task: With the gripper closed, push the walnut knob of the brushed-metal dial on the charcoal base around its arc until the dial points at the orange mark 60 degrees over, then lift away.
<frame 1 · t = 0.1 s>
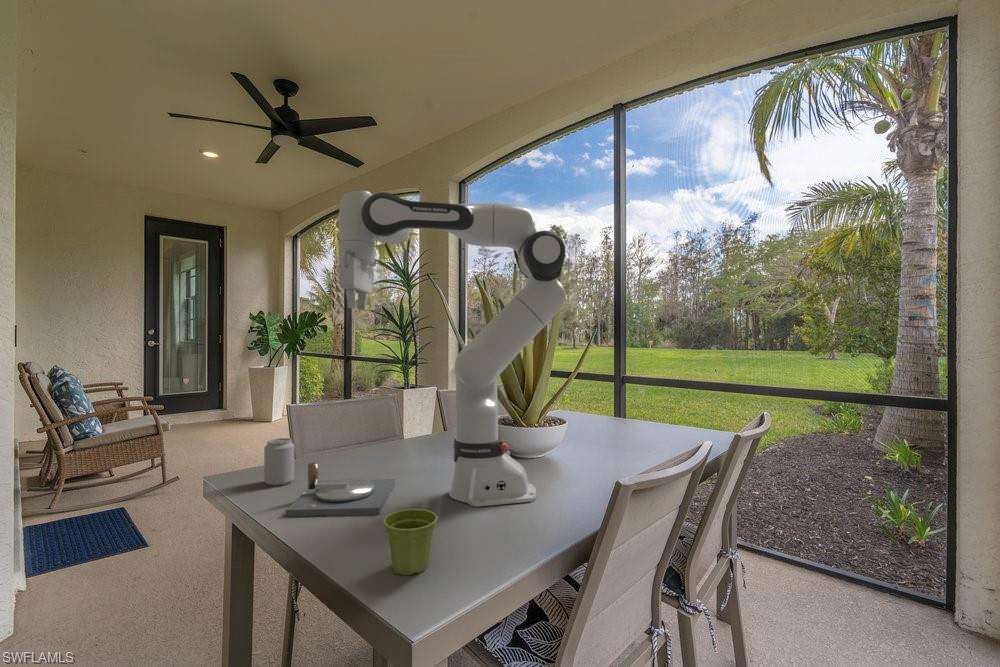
hand: (356, 309, 118), 48 cm above the table, tool pointing down, fingers open, 8 cm apart
can: (279, 483, 128), on the table
dial: (341, 477, 116), point 5 cm above the table, hinge at 0.0°
plant pot: (410, 568, 82), on the table
dial plate: (345, 499, 116), on the table
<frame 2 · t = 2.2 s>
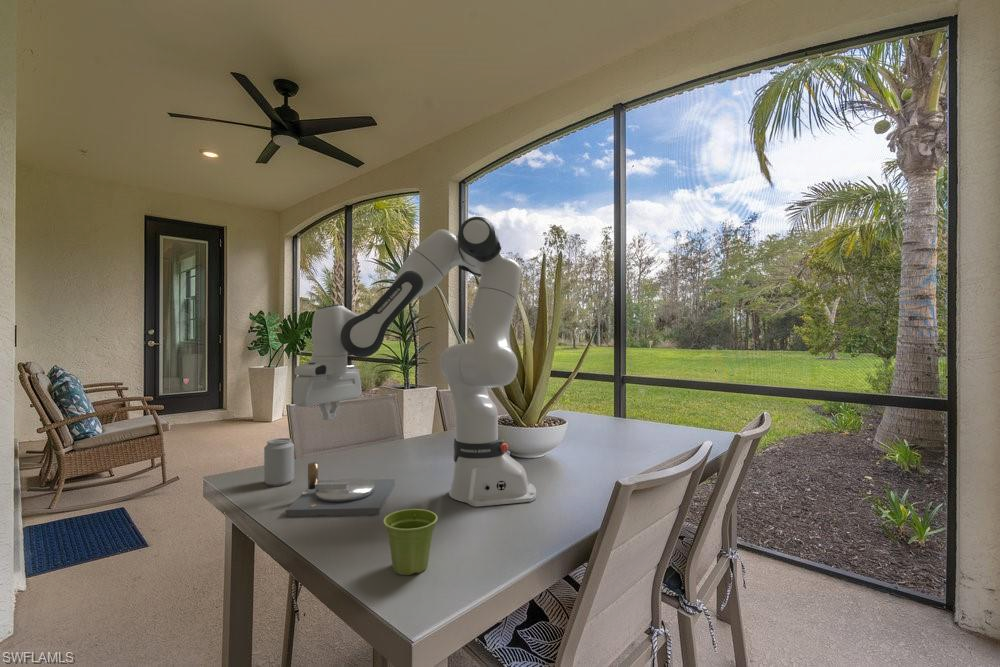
hand: (329, 419, 121), 19 cm above the table, tool pointing down, fingers closed
nothing on the table moved.
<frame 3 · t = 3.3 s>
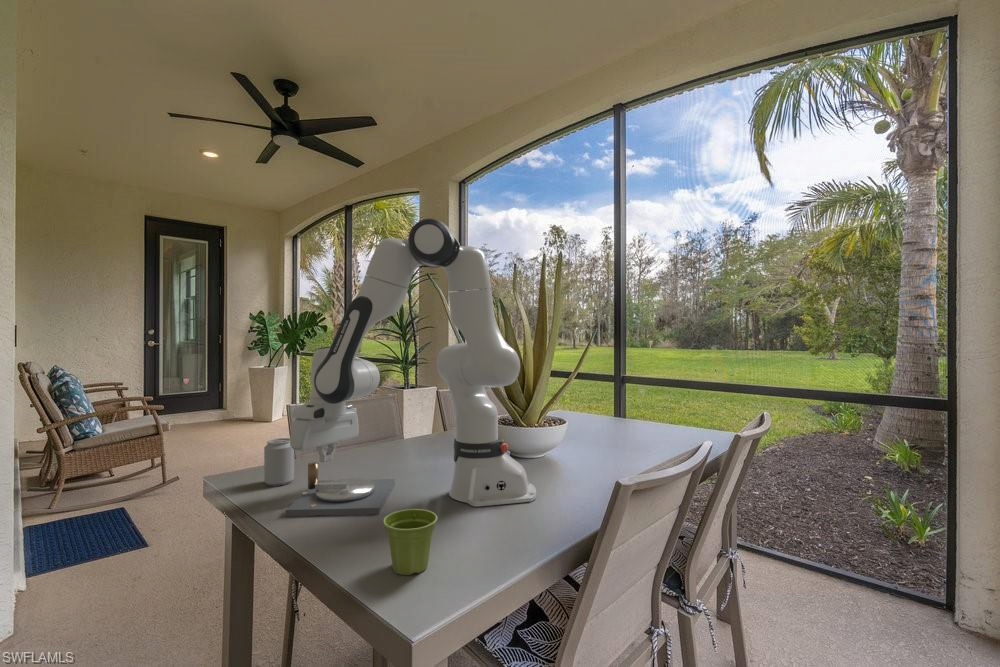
hand: (326, 461, 120), 8 cm above the table, tool pointing down, fingers closed
nothing on the table moved.
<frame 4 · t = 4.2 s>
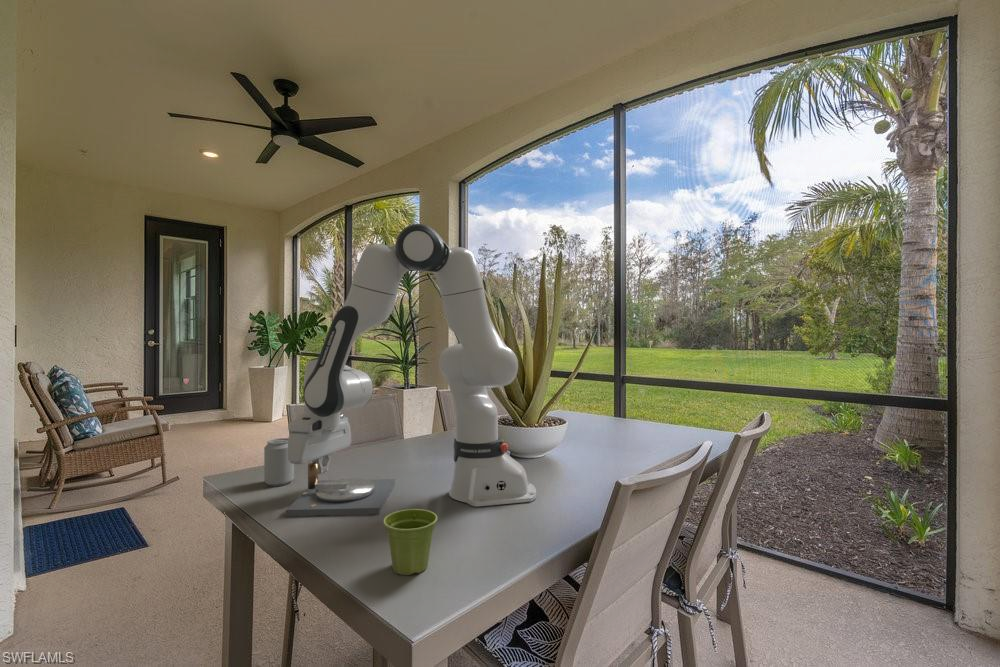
hand: (322, 472, 119), 6 cm above the table, tool pointing down, fingers closed
dial: (341, 477, 116), point 5 cm above the table, hinge at 0.0°, touching gripper
everything else where it was.
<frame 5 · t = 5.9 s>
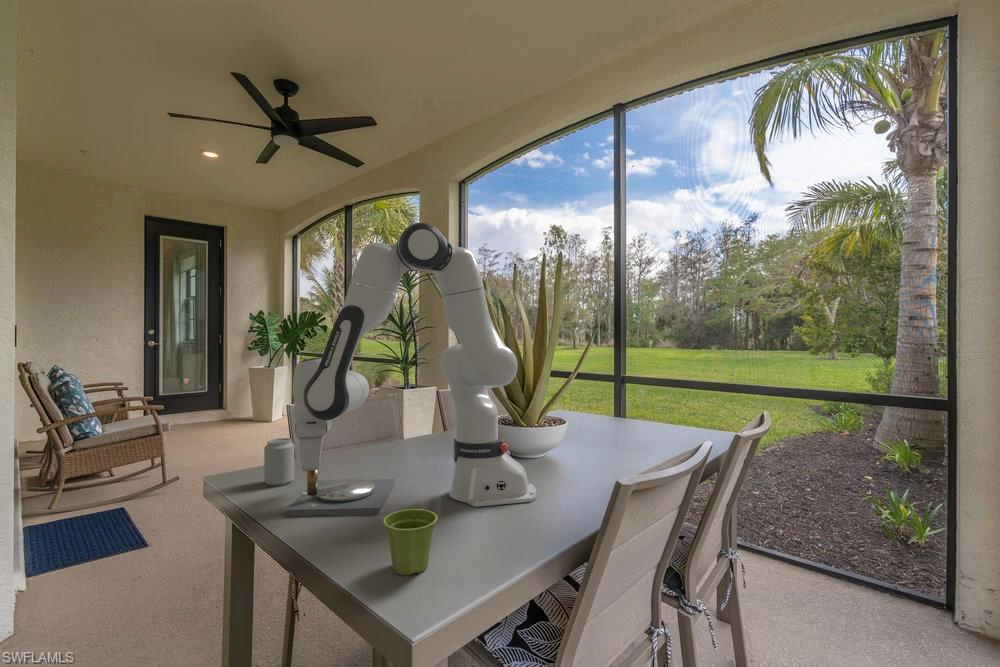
hand: (311, 479, 114), 6 cm above the table, tool pointing down, fingers closed
dial: (341, 478, 115), point 5 cm above the table, hinge at 34.8°, touching gripper
everything else where it was.
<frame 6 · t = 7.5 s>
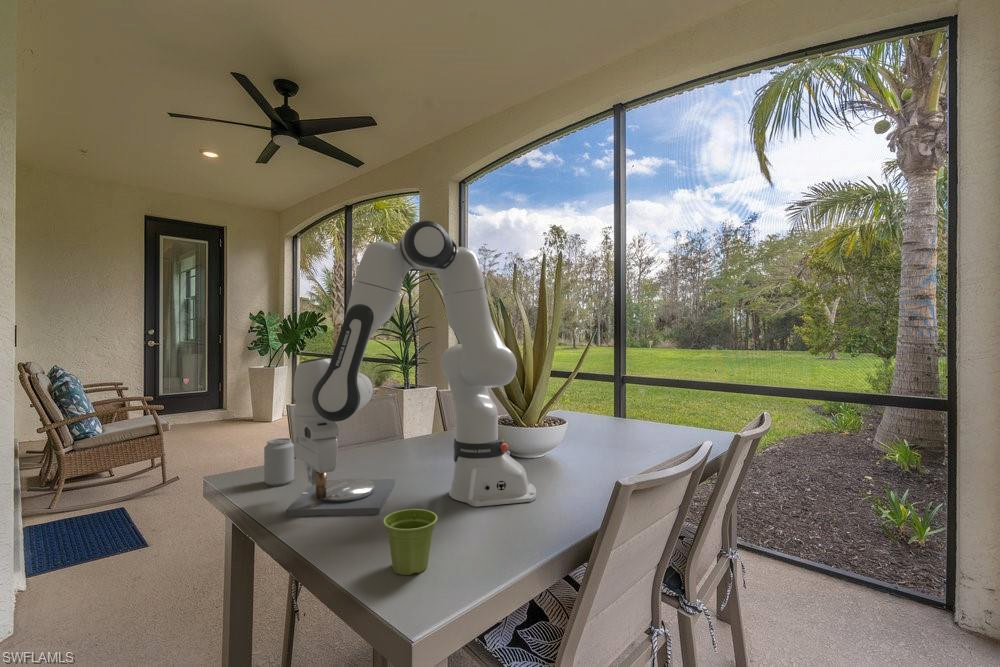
hand: (313, 482, 111), 6 cm above the table, tool pointing down, fingers closed
dial: (342, 478, 115), point 5 cm above the table, hinge at 62.3°, touching gripper
everything else where it was.
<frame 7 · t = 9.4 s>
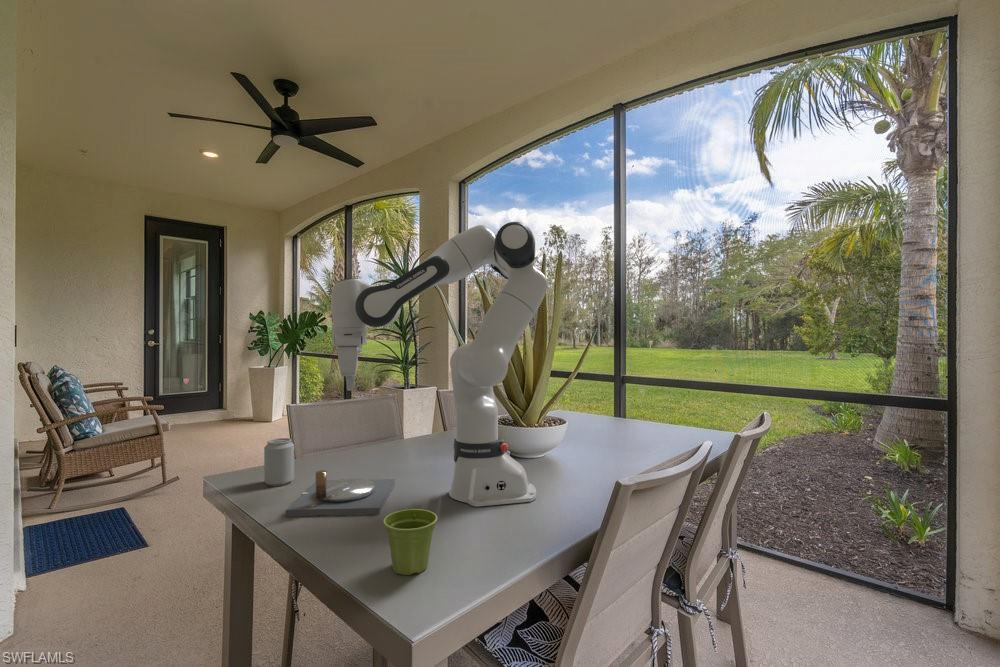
hand: (350, 390, 124), 26 cm above the table, tool pointing down, fingers closed
dial: (342, 478, 115), point 5 cm above the table, hinge at 62.2°
everything else where it was.
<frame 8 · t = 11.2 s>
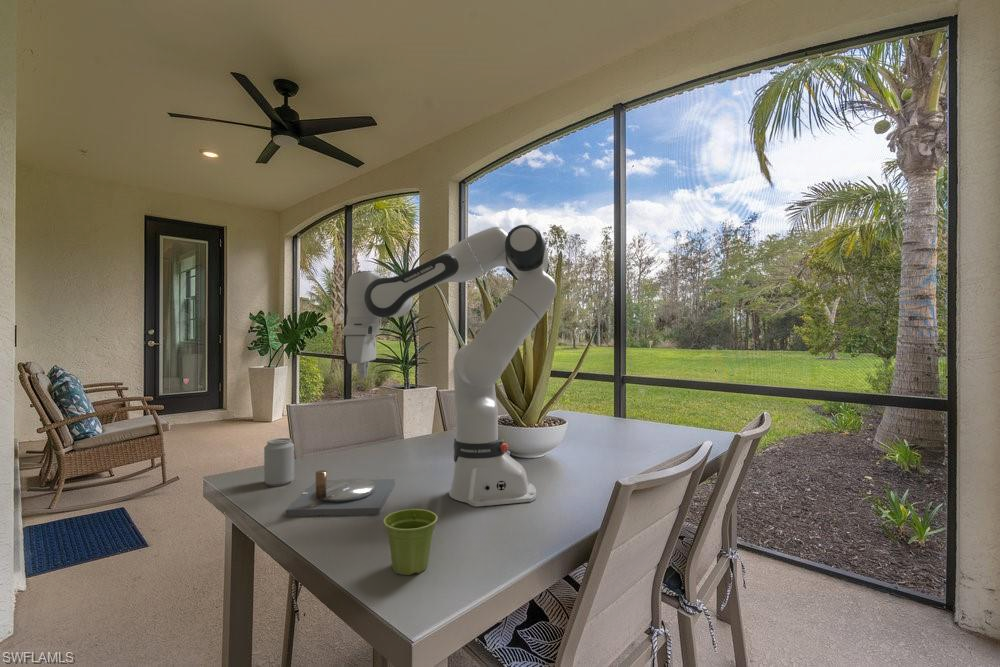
hand: (362, 378, 130), 29 cm above the table, tool pointing down, fingers closed
nothing on the table moved.
at the end: dial at +62° (first picture: +0°); can moved 0.2 cm from its start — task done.
